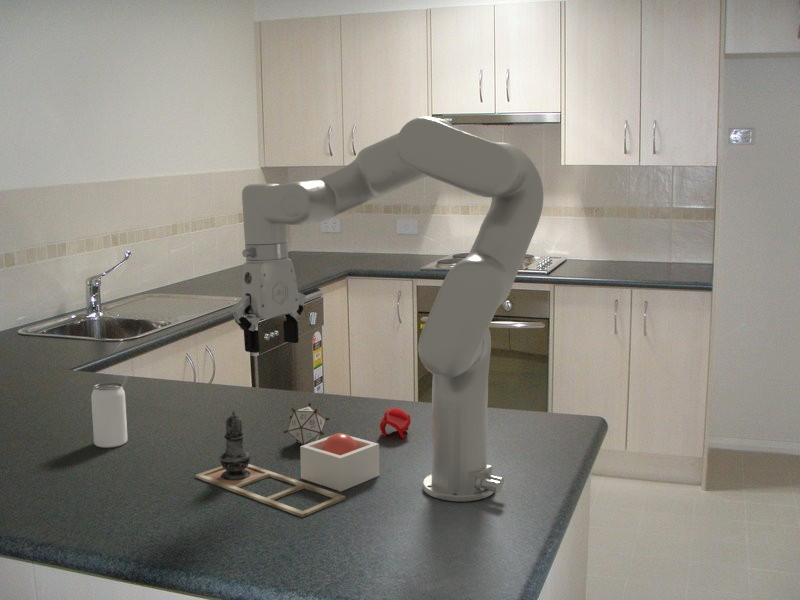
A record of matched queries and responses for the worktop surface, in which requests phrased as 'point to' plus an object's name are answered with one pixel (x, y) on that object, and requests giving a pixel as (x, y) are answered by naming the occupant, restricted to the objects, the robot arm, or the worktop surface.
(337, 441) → the pop dome
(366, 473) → the dome housing
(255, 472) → the game track
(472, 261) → the robot arm
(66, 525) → the worktop surface
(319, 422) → the game die
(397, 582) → the worktop surface
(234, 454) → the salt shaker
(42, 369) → the worktop surface
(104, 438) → the can
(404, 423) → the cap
